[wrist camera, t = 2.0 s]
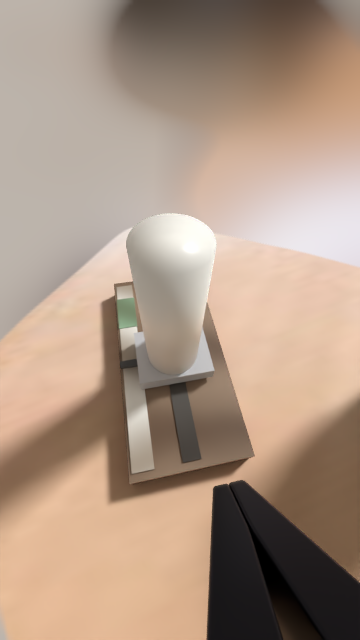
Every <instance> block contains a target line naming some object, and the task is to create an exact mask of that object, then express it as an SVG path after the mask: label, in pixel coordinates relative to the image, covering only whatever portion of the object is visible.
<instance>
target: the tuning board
mask: <svg viewBox="0 0 360 640" xmlns="http://www.w3.org/2000/svg"><path fill="white" fill-rule="evenodd" d="M114 289H115V302H116V315H117V328H118V341H119V354H120V361H126V360H132V359H137V356H136V347H135V338H134V333H137V332H143V328H142V323H141V318H140V313H139V308H138V303H137V298H136V293H135V288H134V283H133V282H126V283H118V284H114ZM202 327H203V331H204V334H205V338H206V342H207V345H208V349H209V352H210V356H211V359H212V363H213V367H214V370H215V371H214V374H213V377H208V378H203V379H197V380H192V381H186V382H181V383H175V384H170V385H164V386H159V387H153V388H148V389H141V386H140V382H139V373H138V367H132V368H126V369H121V381H122V394H123V407H124V420H125V433H126V446H127V459H128V472H129V484H137V483H141V482H146V481H150V480H155V479H159V478H163V477H168V476H172V475H177V474H181V473H186V472H190V471H195V470H199V469H204V468H208V467H212V466H217V465H221V464H226V463H230V462H235V461H239V460H244V459H248V458H251V457H254V456H255V455H254V452H253V449H252V445H251V442H250V439H249V436H248V433H247V429H246V426H245V423H244V420H243V416H242V413H241V410H240V407H239V403H238V400H237V397H236V394H235V391H234V387H233V384H232V381H231V378H230V374H229V371H228V368H227V365H226V361H225V358H224V355H223V352H222V349H221V345H220V342H219V339H218V336H217V332H216V329H215V326H214V323H213V319H212V316H211V313H210V310H209V307H208V303H206V309H205V314H204V320H203V326H202Z"/></svg>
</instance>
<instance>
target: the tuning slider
mask: <svg viewBox="0 0 360 640" xmlns="http://www.w3.org/2000/svg"><path fill="white" fill-rule="evenodd" d="M126 248H127V253H128V258H129V263H130V268H131V273H132V278H133V283H134V288H135V293H136V298H137V303H138V308H139V313H140V318H141V323H142V328H143V332H137V333H134V338H135V347H136V356H137V359H132V360H126V361H120V368H121V369H126V368H132V367H138V373H139V382H140V386H141V389H148V388H153V387H159V386H164V385H170V384H175V383H181V382H186V381H192V380H197V379H203V378H208V377H213V374H214V371H215V370H214V367H213V363H212V359H211V356H210V352H209V349H208V345H207V342H206V338H205V334H204V331H203V327H202V326H203V320H204V314H205V309H206V303H207V297H208V292H209V286H210V280H211V275H212V269H213V263H214V258H215V252H216V238H215V236H214V233H213V232H212V231H211V229H210V228H209V227H208V226H207V225H206V224H205V223H203V222H202V221H200V220H198V219H196V218H193V217H191V216H187V215H183V214H172V213H170V214H159V215H155V216H152V217H149V218H147V219H144V220H143V221H141V222H139V223H138V224H137V225H136V226H134V227H133V229H132V230H131V231H130V233H129V234H128V237H127V241H126Z"/></svg>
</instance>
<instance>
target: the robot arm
mask: <svg viewBox="0 0 360 640" xmlns="http://www.w3.org/2000/svg"><path fill="white" fill-rule="evenodd" d="M207 640H360V583H359V582H358V581H357V580H356V579H355V578H354V577H353V576H352V575H350V574H349V573H348V572H347V571H346V570H345V569H344V568H343V567H341V566H340V565H339V564H338V563H337V562H336V561H335V560H333V559H332V558H331V557H330V556H329V555H328V554H327V553H326V552H324V551H323V550H322V549H321V548H320V547H319V546H318V545H317V544H315V543H314V542H313V541H312V540H311V539H310V538H309V537H307V536H306V535H305V534H304V533H303V532H302V531H301V530H300V529H298V528H297V527H296V526H295V525H294V524H293V523H292V522H291V521H289V520H288V519H287V518H286V517H285V516H284V515H283V514H281V513H280V512H279V511H278V510H277V509H276V508H275V507H274V506H272V505H271V504H270V503H269V502H268V501H267V500H266V499H264V498H263V497H262V496H261V495H260V494H259V493H258V492H257V491H255V490H254V489H253V488H252V487H251V486H250V485H249V484H248V483H246V482H245V481H243V480H240V481H236V482H231V483H230V484H229V485H228V484H223V485H218V486H215V487H214V488H213V503H212V526H211V549H210V572H209V595H208V617H207Z"/></svg>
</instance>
